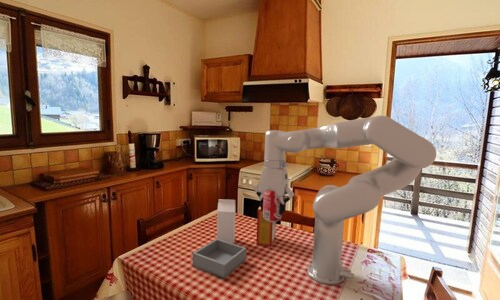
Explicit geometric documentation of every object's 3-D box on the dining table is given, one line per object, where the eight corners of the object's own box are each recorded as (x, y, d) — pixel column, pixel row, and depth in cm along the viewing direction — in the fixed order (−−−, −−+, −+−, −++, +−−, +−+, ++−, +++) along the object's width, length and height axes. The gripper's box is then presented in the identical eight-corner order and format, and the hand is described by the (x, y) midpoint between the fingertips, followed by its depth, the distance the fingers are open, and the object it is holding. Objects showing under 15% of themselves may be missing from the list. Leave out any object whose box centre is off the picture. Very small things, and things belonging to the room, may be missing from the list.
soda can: (282, 217, 100) (284, 186, 98) (279, 224, 93) (281, 191, 91) (264, 215, 101) (266, 185, 100) (260, 221, 95) (261, 189, 93)
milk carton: (233, 246, 109) (234, 202, 107) (216, 245, 110) (217, 201, 107) (234, 238, 117) (235, 197, 114) (218, 238, 117) (219, 196, 115)
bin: (245, 260, 99) (246, 248, 98) (224, 279, 87) (224, 265, 86) (216, 250, 106) (216, 238, 105) (192, 266, 94) (192, 253, 93)
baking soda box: (261, 235, 121) (262, 202, 119) (275, 237, 119) (276, 203, 117) (256, 244, 112) (257, 208, 110) (271, 246, 110) (272, 210, 108)
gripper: (300, 165, 94) (298, 213, 96) (258, 160, 102) (256, 204, 104) (293, 168, 87) (290, 219, 89) (248, 163, 96) (247, 209, 98)
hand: (272, 211), depth 97 cm, fingers closed on soda can, 7 cm apart
